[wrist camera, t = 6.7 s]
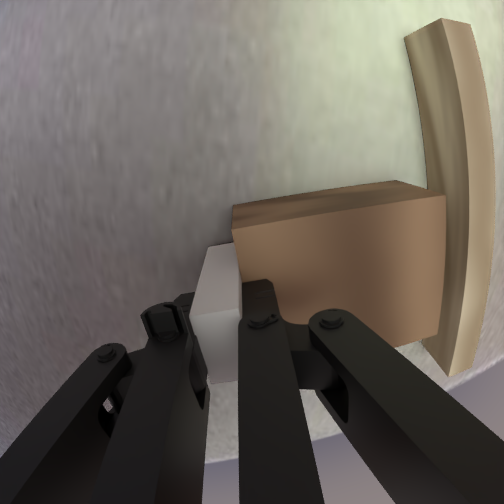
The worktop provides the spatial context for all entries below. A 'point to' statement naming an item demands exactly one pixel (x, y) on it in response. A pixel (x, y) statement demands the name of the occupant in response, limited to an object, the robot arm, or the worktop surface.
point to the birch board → (457, 179)
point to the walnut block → (350, 255)
